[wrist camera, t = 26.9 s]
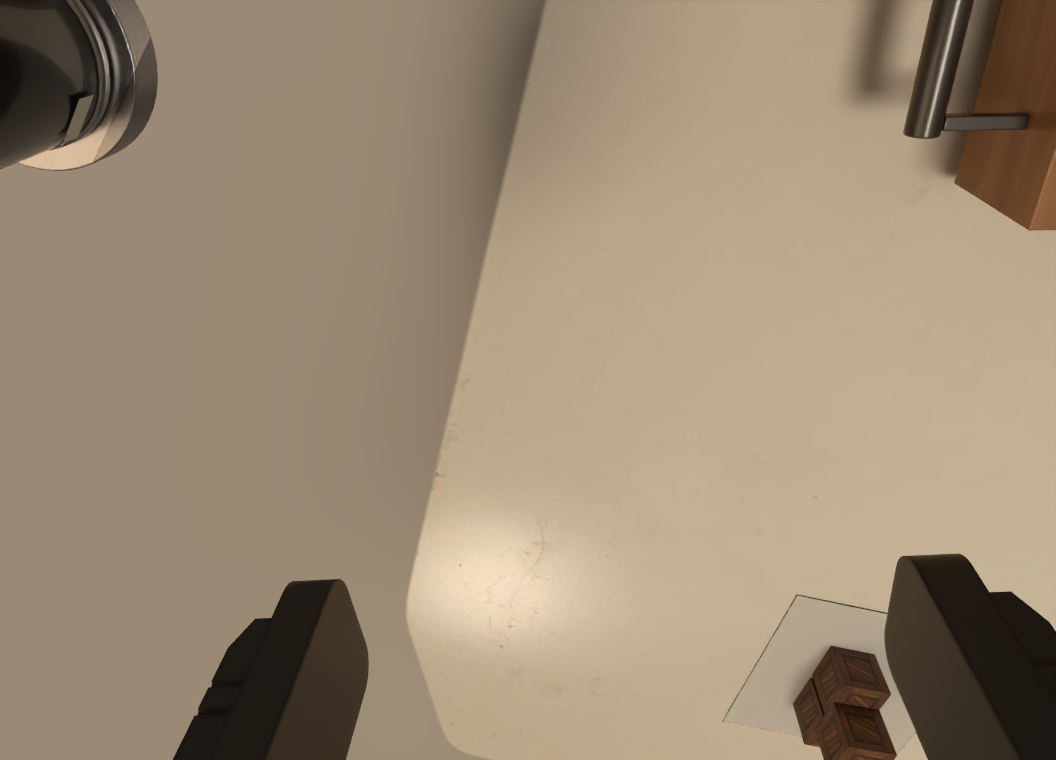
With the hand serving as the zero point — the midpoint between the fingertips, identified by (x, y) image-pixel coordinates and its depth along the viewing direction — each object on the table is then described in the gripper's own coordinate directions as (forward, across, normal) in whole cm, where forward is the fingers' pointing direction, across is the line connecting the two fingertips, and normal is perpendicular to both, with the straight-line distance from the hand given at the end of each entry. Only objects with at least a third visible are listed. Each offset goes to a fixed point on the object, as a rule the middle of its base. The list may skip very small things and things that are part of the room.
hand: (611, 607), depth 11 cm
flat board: (+30, -17, +42) cm, 55 cm away
